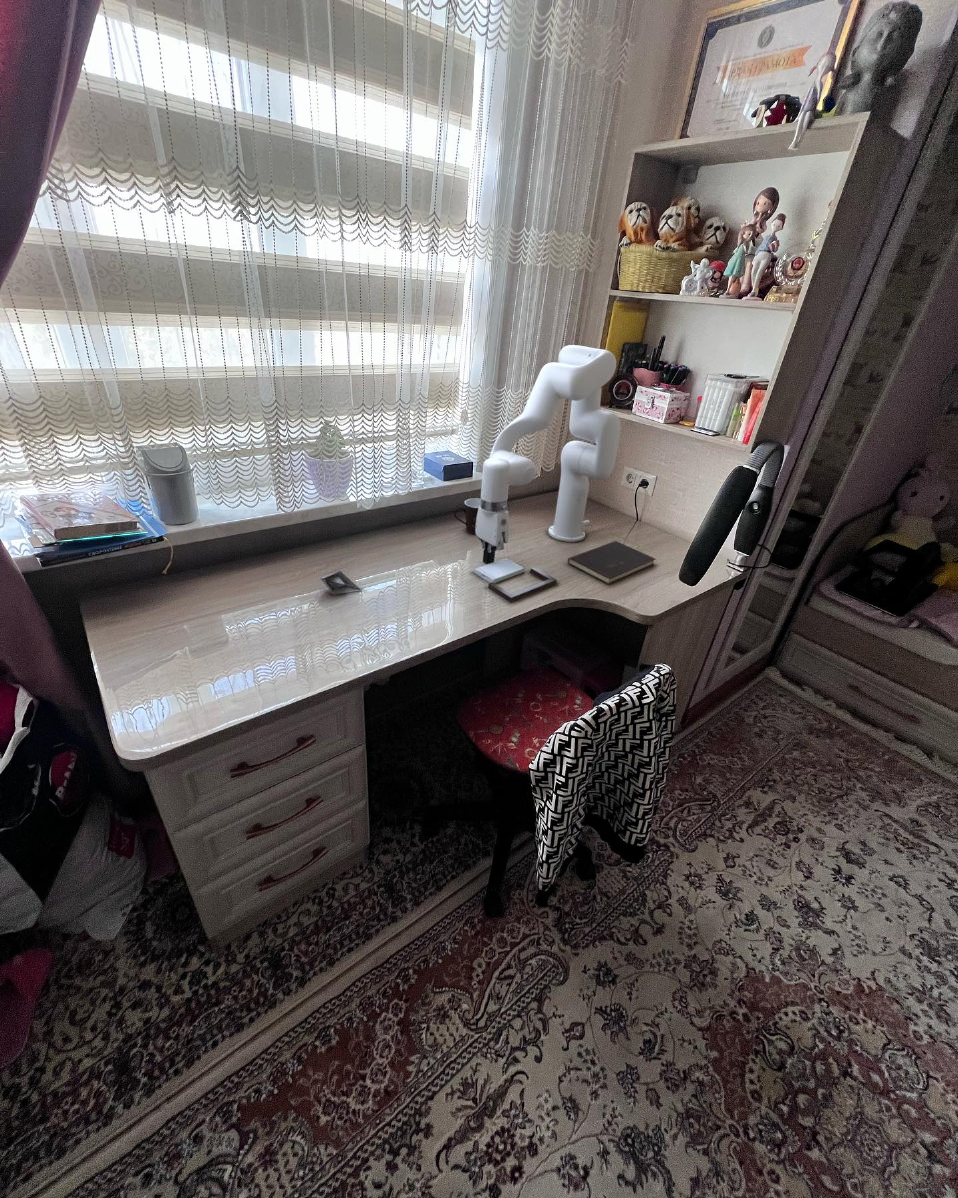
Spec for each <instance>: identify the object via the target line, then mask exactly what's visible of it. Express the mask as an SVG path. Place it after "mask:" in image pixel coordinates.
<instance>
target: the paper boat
mask: <svg viewBox="0 0 958 1198" xmlns="http://www.w3.org/2000/svg"><path fill="white" fill-rule="evenodd" d="M320 580H321V582H323V584H324V585H325V586H326V587H327V589H328V590H329V591H330V593H331V594H332V595H339V594H346V593H352V592H360V591H362V589H361V588H360V587H359V586H358V585H356V583H354V582H353V581H352V580H351V579H350V578H349V577H348V576H347V575H346V574H345V573H343V572H342V571H341V570H339V571H336V572H332V573H330V574H327V575H324V576H323V577H322V576H321V577H320Z"/></svg>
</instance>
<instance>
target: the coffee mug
mask: <svg viewBox="0 0 958 1198" xmlns="http://www.w3.org/2000/svg"><path fill="white" fill-rule="evenodd" d="M480 500H481V498H478V497H477V498H476V497H475V498H468V499H466V500H464V507H456V509H454V511H453V516H454V518H455V519H456V520H457V521H459V522H461V524H464V525H465V529H466V533H468V534H470V535H473V536H477V535H476V532H475V529H476V519H477V513H478V509H479V505H480ZM459 510H461V511H463V513H464V515H465V521H464V520H462V519H460V518H458V517H457V515H456V513H457V511H459Z"/></svg>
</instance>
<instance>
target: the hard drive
mask: <svg viewBox="0 0 958 1198" xmlns="http://www.w3.org/2000/svg"><path fill="white" fill-rule="evenodd" d="M524 572H525V567H523V566H522V565H520V564H517V562H516V563H515V562H514V561H512V560H510V559H508V558H506V557H505V558H502V559H499V560H496V561H494V562H492V563H489V564H484V565H482V566H479V567H476V568H474V570H473V573H474V574H475V575H477V576H478V577H480V578H482V579H483V580H485V581H486V582H488V583H491V582H493V583H495V584H497V583H499V582H501V581H504V580H507V579H509V578H512V577H515V576H517V575H521V574H523V573H524Z"/></svg>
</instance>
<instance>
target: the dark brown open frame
mask: <svg viewBox="0 0 958 1198" xmlns="http://www.w3.org/2000/svg"><path fill="white" fill-rule="evenodd" d="M529 573H531V574H532V575H534V576H535V577H537V578H539V579H541V580H542V581H540V582H538V583H536V584H533V585H531V586H528V587H525V588H522V589H520V590H517V591H515V592H513V593H511V592H509V591H507V590H506V589H504V588H503V587H501V586H500V585H498V584H497V583H493V582H491V583H490V582H488V585H487V589H489V590H491V591H492V592H494V593H495V594H497V595H498V596H500V597H501V598H503V599H505V600H506V601H507V602H509V603H514V602H516V601H518V600H520V599H522V598H526V597H528V596H530V595H533V594H535V593H538V592H540V591H543V590H546V589H548V588H550V587H552V586H555V585H557V582H558V579H557V578H555V577H554V576H552V575H550V574H547V573H546V572H544V571H543V570H540V569H539V568H537V567H535V566H532V567H530V569H529Z"/></svg>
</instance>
